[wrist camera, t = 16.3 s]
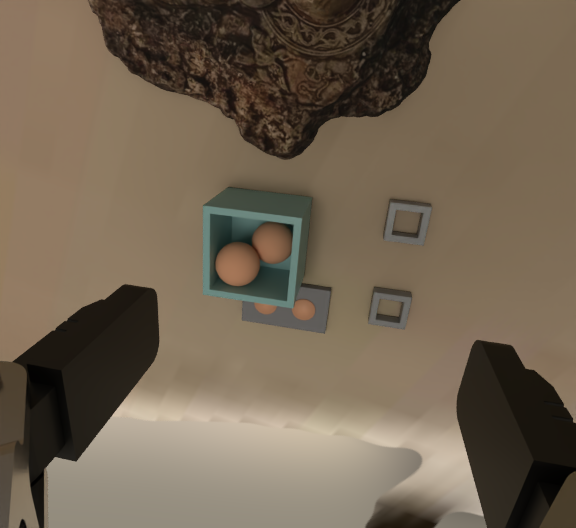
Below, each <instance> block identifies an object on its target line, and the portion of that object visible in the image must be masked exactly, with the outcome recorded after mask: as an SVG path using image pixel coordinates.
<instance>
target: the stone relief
mask: <svg viewBox="0 0 576 528" xmlns="http://www.w3.org/2000/svg"><path fill="white" fill-rule="evenodd" d="M88 1H89V4H90V7H91V9H92V12H93V13H95V14H96V15H98V18H99V22H100V24H101V26H102V30H103V36H104V40H105V45H106V47H107V48H108V50H109V51H110V52H111V53H112V54H113V55H114V56H116V57H119V58H120V60H121V61H122V62H123V63H124V64H125V65H126V66H127V67H128V70H129V71H130V72H131V73H133V74H136V75H138V76H140V77H141V78H143V79H144V80H146V81H147V82H150V83H152V84H154V85H155V86H157V87H159V88H161V89H164V90H166V91H171V92H177V93H180V94H184V95H188V96H191V97H193V98H196V99H199V100H202V101H205V102H208V103H210V104H211V105H213V106H215V107H217V108H219V109H220V110H221V111H222V113H223V114H224V115H225V116H226V117H228V118H231V119H234V120H235V122H236V124H237V126H238V127H239V131H240V134H241V136H242V137H243V138H244V140H245V141H247V142H249V143H251V144H253V145H255V146H256V147H257V148H259V149H260V150H262V151H263V152H265V153H267V154H270V155H274V156H277V157H279V158H281V159H284V160H287V159H291V158H294V157H295V156H297V155H300V154H301V153H303V151H304V150H305V149H306V148H307V147H308V146H309V145H310V144H311V143H312V142H313V140H314V137H315V136H316V134H317V132H318V128H319V127H320V126H321V125H323V124H324V123H325V122H327V121H328V120H330V119H333V118H337V117H341V116H345V117H353V116H354V117H363V116H369V117H377V116H379V115H381V114H383V113H385V112H386V111H389V110H392V109H394V108H396V107H397V106H399V105H400V104H401V102H402V101H403V100H404V99H405V98H406V97H407V96H409V95H410V94H411V93H412V92H414V91H415V90H416V89H417V88H418V87H419V85H420V84H421V82H422V81H423V79H424V78H425V76H426V74H427V69H428V65H429V63H430V59H431V52H430V50H429V41H430V39H431V36H432V34H433V32H434V30H435V28H436V26H437V24H438V23H439V22H440V21H441V19H442V18H443V17H444V16H445V15H446V14H447V13H448V12H449V11H450V10H451V9H452V7H453V6H454V5H455V4H457V3H458V2H459V1H460V0H88Z"/></svg>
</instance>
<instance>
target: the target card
mask: <svg viewBox="0 0 576 528" xmlns="http://www.w3.org/2000/svg"><path fill="white" fill-rule="evenodd" d="M330 294H331V288H329V287H322V286H315V285H309V284H301V287H300V290H299V293H298V296H297V299H296V302H295V305H294V308H287V307H280V306H274V305H268V304H261V303H255V302H248V301H243V305H242V320H243V321H250V322H256V323H262V324H268V325H274V326H281V327H287V328H293V329H299V330H305V331H312V332H318V333H324V334H325V331H326V323H327V316H328V309H329V301H330Z"/></svg>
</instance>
